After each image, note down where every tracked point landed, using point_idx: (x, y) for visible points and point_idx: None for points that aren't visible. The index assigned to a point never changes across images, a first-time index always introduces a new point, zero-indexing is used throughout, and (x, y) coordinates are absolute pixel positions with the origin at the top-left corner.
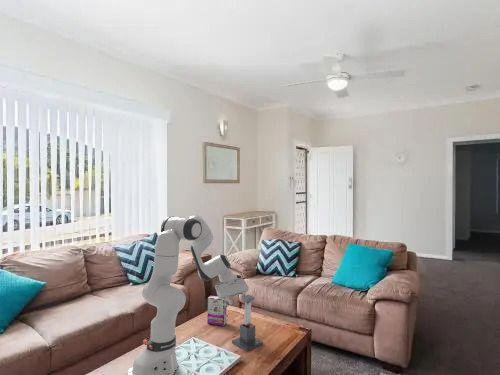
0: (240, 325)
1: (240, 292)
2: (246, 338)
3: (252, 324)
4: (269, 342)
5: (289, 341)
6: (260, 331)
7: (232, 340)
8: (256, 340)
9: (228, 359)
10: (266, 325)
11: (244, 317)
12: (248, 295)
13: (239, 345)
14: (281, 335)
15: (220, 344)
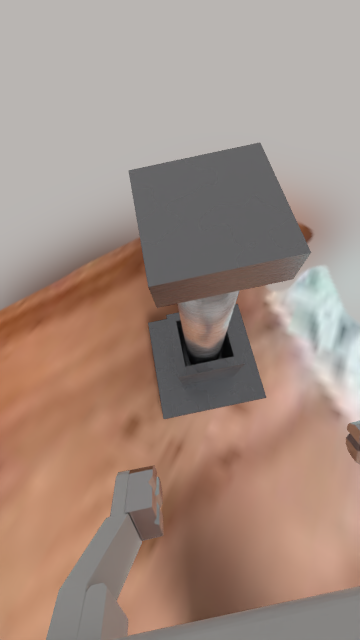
0: (243, 357)
1: (176, 628)
2: None
3: (172, 336)
4: (118, 330)
5: (50, 305)
6: (86, 442)
7: (264, 393)
8: (165, 344)
9: (317, 287)
10: (14, 495)
11: (226, 331)
12: (173, 249)
13: (248, 343)
14: (37, 360)
15: (318, 410)
